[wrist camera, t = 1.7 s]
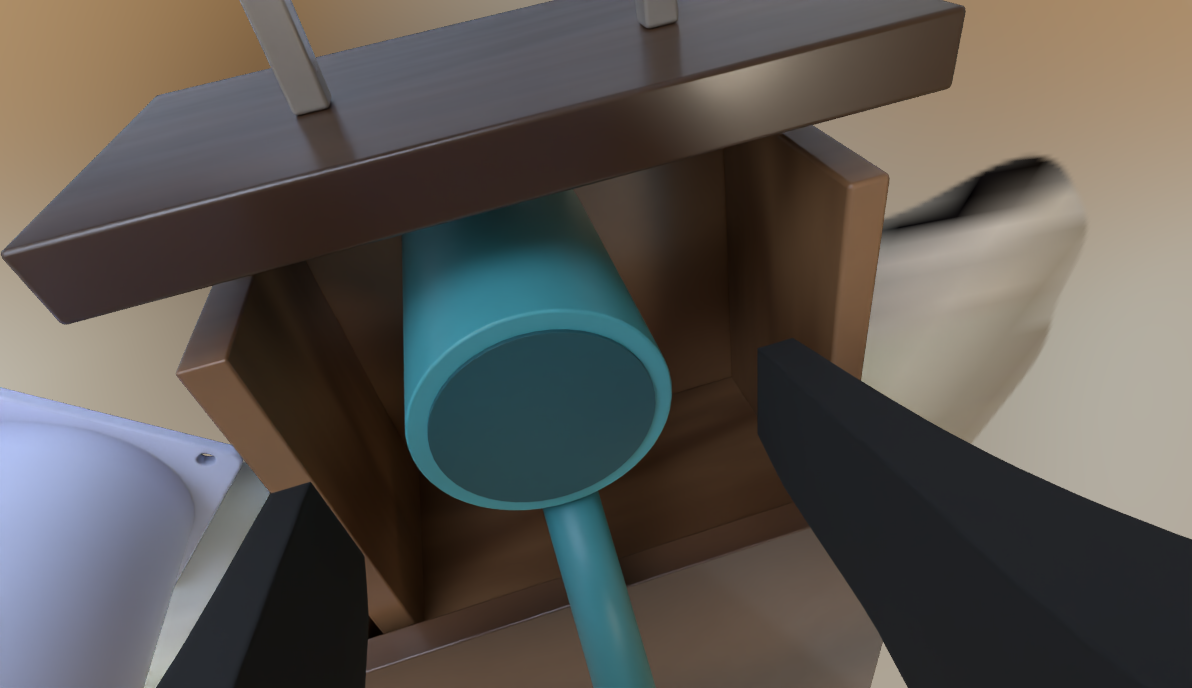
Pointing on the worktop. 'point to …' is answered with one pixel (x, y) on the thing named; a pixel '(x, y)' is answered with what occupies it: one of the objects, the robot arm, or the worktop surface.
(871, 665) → the cabinet
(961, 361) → the worktop surface
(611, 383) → the scoop
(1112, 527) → the robot arm
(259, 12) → the drawer
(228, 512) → the worktop surface
